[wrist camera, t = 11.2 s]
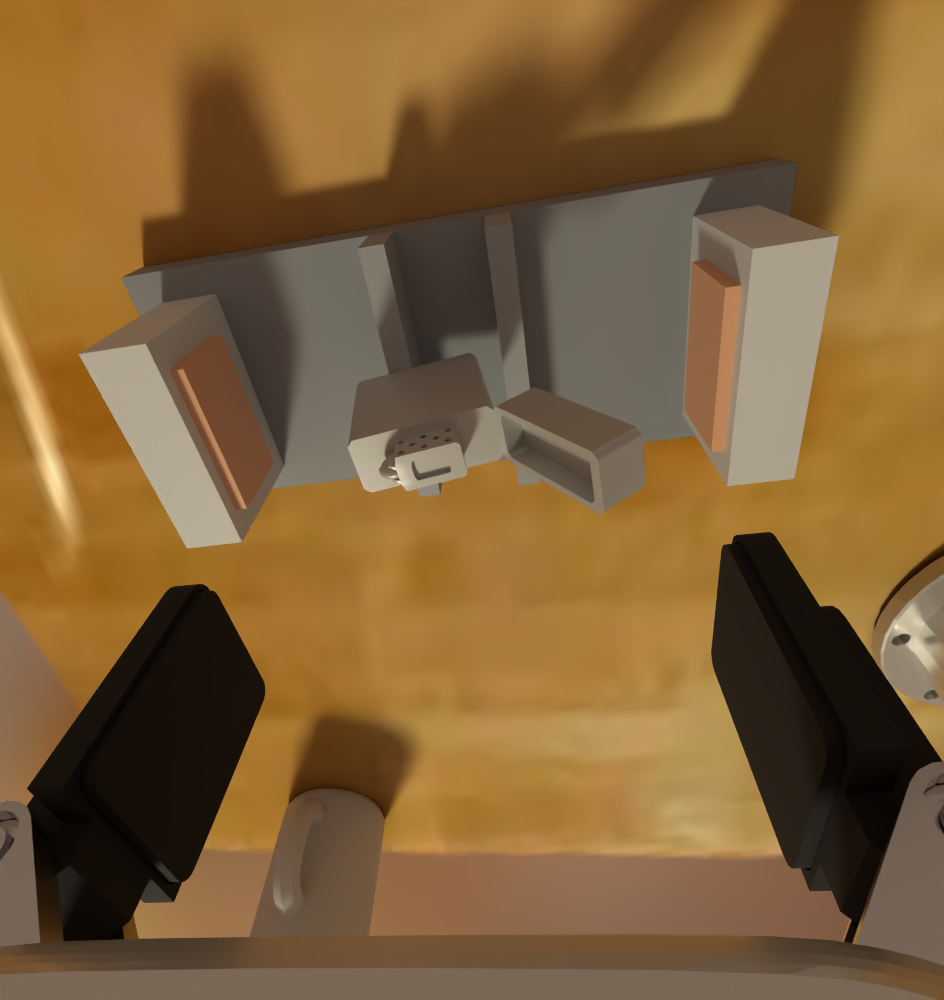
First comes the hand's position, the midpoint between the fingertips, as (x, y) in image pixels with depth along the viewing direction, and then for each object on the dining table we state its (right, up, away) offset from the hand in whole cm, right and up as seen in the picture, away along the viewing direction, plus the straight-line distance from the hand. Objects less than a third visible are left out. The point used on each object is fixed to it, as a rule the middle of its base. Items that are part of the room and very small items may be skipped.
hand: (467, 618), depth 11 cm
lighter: (0, +6, +9) cm, 11 cm away
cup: (-10, -19, +31) cm, 38 cm away
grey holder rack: (0, +8, +11) cm, 14 cm away
